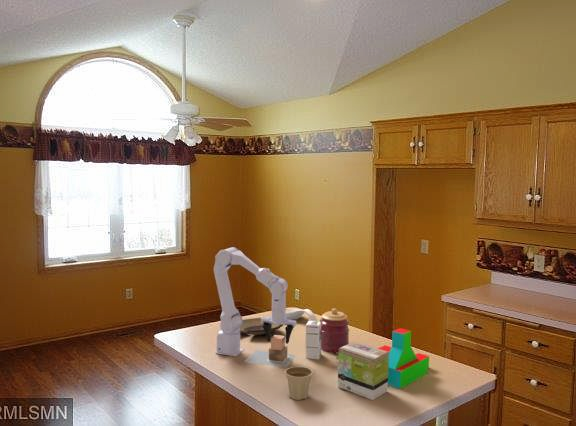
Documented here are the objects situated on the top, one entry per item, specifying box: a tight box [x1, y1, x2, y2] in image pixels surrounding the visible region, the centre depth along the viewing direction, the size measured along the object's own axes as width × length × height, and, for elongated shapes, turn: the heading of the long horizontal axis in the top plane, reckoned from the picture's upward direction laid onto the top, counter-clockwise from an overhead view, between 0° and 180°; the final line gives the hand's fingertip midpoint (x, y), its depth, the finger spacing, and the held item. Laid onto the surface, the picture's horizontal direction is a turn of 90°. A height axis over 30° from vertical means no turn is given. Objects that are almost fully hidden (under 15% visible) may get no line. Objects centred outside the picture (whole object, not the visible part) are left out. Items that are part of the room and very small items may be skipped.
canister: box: [319, 307, 350, 354], centre depth 216 cm, size 13×13×18 cm
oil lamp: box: [240, 317, 284, 336], centre depth 237 cm, size 22×30×8 cm
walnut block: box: [268, 345, 288, 362], centre depth 202 cm, size 6×6×4 cm
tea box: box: [337, 341, 389, 401], centre depth 174 cm, size 15×10×15 cm, turn 48°
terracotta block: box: [270, 334, 286, 350], centre depth 202 cm, size 4×4×4 cm
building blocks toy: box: [377, 327, 430, 389], centre depth 191 cm, size 19×25×18 cm
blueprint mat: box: [243, 349, 297, 368], centre depth 203 cm, size 18×14×1 cm
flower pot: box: [284, 366, 314, 401], centre depth 169 cm, size 9×9×9 cm
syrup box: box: [305, 320, 322, 360], centre depth 205 cm, size 6×6×14 cm
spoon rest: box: [286, 308, 318, 321], centre depth 256 cm, size 24×12×7 cm, turn 39°
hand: (278, 341), depth 202 cm, fingers open, 7 cm apart
